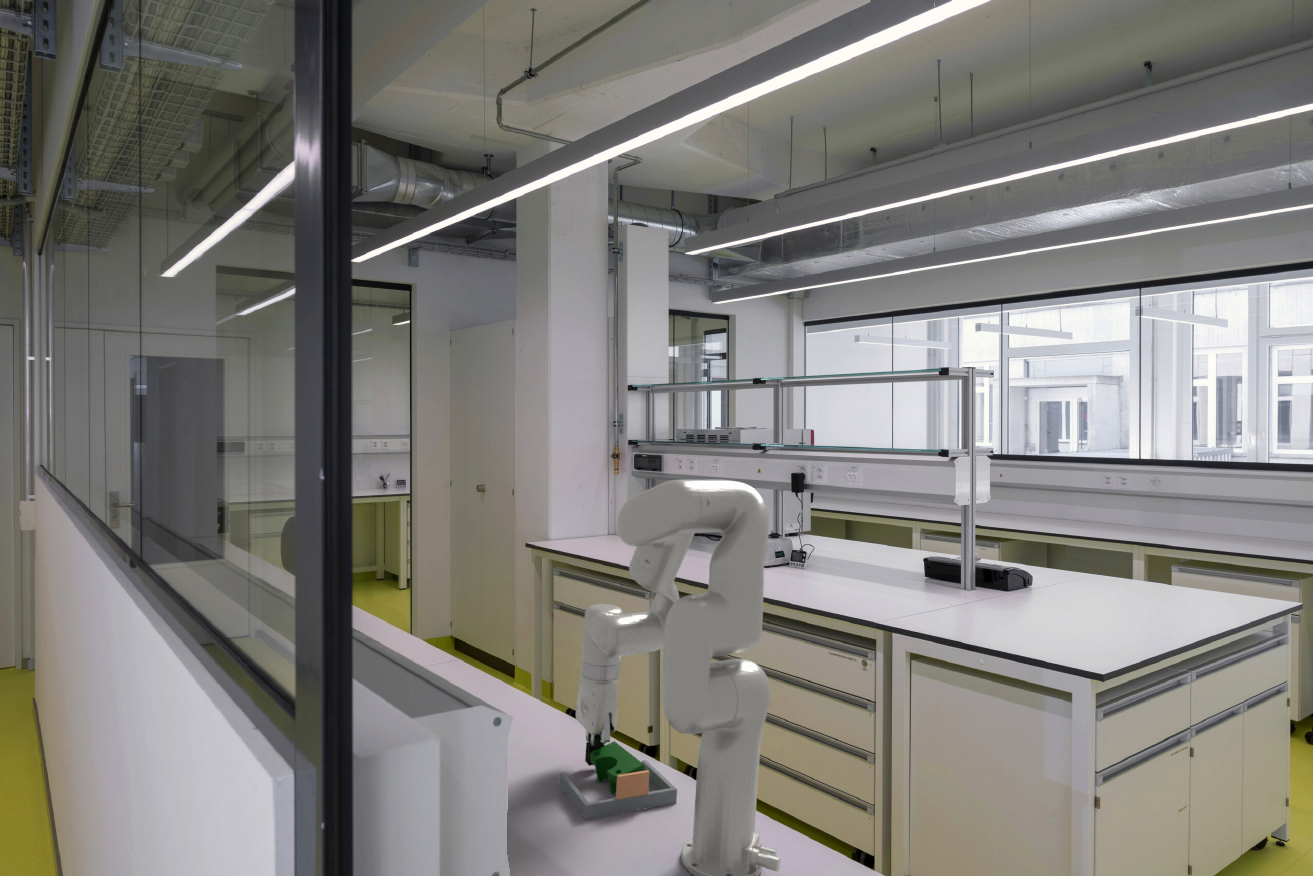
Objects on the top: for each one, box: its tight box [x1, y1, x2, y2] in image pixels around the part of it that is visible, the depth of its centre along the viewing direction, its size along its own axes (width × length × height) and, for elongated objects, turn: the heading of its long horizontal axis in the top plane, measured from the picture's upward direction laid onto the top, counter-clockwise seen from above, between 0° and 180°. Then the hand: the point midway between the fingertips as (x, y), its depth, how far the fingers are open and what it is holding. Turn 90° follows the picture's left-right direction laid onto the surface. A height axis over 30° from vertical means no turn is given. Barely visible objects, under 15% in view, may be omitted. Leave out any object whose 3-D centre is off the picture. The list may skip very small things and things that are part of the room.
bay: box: [558, 759, 678, 821], centre depth 142 cm, size 13×18×6 cm
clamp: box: [590, 741, 645, 795], centre depth 145 cm, size 12×6×9 cm, turn 27°
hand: (594, 762), depth 151 cm, fingers closed
